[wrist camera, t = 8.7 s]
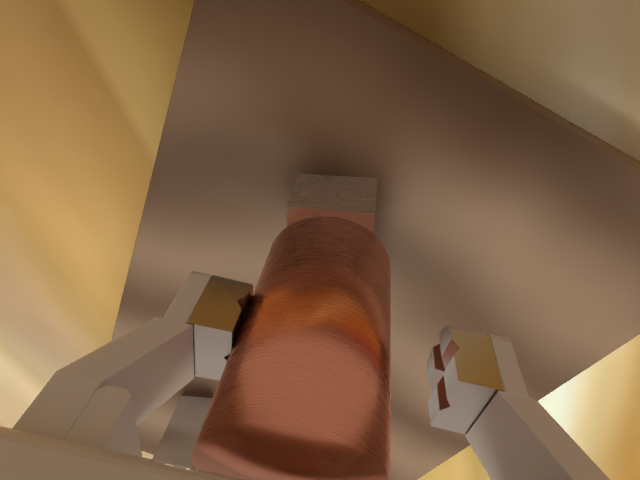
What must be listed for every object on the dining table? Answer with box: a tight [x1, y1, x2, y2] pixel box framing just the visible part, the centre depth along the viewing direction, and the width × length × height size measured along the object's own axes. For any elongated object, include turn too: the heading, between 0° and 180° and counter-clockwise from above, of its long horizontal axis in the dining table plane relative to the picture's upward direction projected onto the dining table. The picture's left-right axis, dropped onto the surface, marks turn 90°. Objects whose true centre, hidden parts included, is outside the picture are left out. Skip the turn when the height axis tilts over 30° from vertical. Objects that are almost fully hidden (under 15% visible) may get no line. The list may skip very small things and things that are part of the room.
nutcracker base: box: [111, 0, 640, 480], centre depth 19 cm, size 29×19×6 cm, turn 155°
